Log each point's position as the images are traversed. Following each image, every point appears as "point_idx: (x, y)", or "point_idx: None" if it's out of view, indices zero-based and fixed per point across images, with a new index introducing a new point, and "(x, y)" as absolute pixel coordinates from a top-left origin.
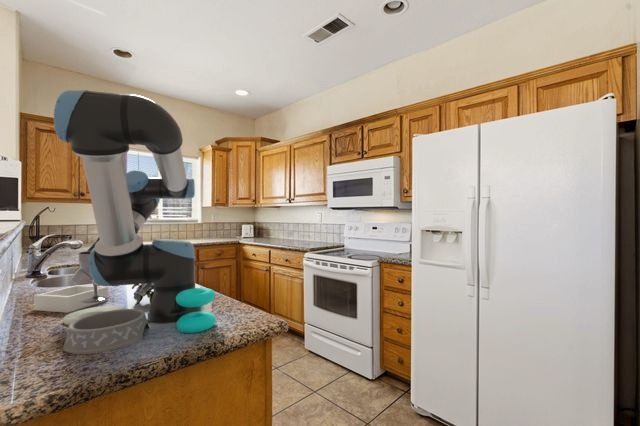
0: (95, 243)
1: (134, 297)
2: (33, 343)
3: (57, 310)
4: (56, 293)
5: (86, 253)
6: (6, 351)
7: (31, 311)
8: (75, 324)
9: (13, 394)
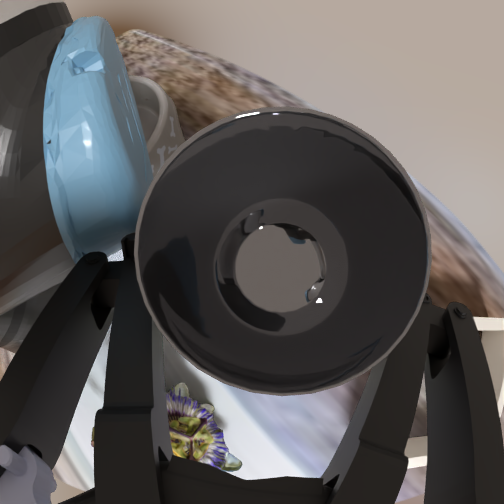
0: (492, 463)
1: (206, 411)
2: (254, 108)
3: None
4: (498, 377)
5: (417, 277)
6: (269, 82)
7: (488, 310)
8: (157, 98)
9: (142, 34)
